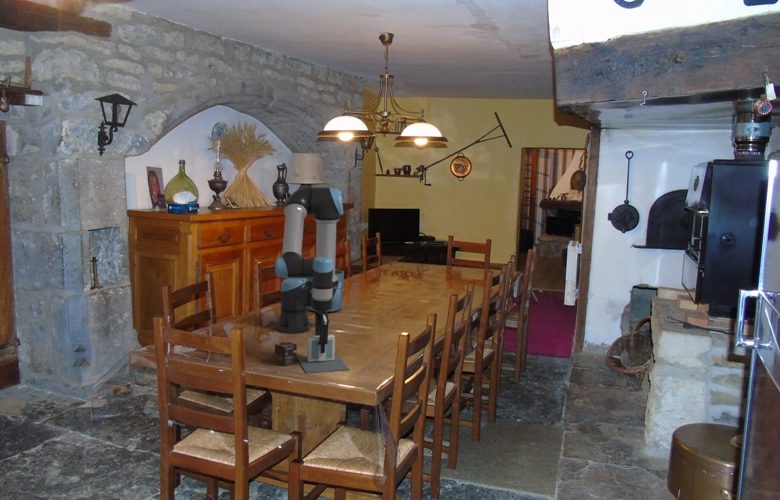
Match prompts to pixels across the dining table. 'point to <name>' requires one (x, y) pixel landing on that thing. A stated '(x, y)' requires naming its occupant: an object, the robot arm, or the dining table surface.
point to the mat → (322, 365)
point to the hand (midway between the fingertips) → (320, 358)
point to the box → (285, 353)
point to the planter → (340, 278)
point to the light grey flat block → (313, 346)
